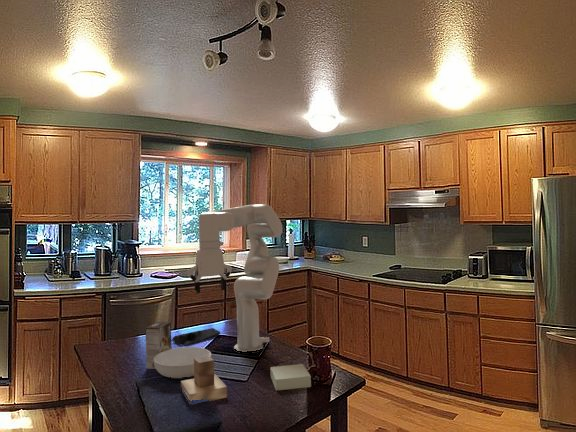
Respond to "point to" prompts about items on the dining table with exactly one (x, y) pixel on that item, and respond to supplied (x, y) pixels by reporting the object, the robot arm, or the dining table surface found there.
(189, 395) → the maple riser block
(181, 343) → the dark slate chunk
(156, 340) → the coffee box
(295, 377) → the sage riser block
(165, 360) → the serving bowl
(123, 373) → the dining table surface
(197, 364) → the walnut block
